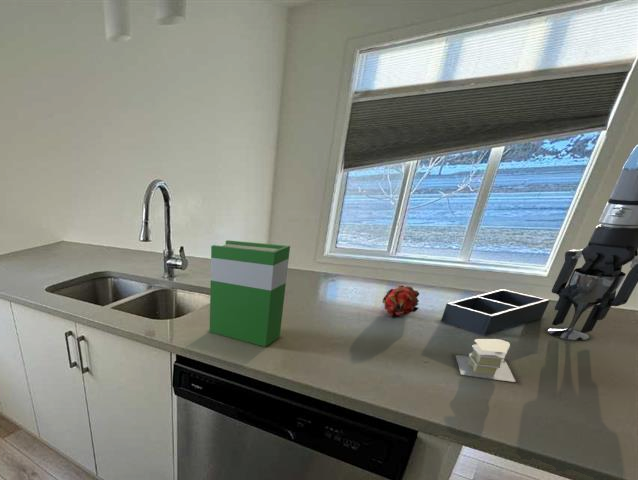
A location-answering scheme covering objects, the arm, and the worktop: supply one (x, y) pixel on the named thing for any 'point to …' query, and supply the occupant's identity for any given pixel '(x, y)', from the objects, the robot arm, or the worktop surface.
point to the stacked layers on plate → (486, 360)
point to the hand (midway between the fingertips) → (571, 327)
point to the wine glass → (586, 297)
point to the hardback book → (248, 290)
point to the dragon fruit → (401, 301)
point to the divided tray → (494, 311)
